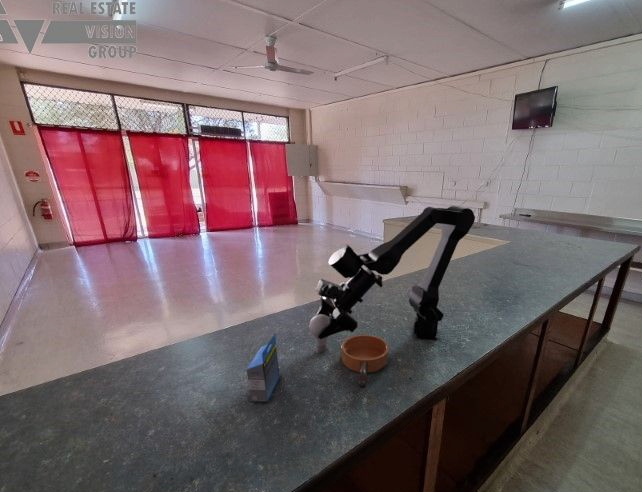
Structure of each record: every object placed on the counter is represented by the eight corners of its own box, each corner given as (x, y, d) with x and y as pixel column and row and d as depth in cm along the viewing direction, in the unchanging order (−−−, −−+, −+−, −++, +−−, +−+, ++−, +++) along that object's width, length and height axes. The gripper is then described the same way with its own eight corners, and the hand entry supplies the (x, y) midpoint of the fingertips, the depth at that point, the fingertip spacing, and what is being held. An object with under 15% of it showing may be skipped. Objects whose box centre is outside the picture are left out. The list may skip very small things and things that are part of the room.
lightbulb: (336, 348, 88) (336, 312, 85) (326, 359, 83) (326, 322, 79) (317, 343, 90) (315, 309, 86) (306, 355, 85) (304, 318, 81)
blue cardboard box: (264, 375, 76) (259, 330, 72) (280, 376, 76) (276, 331, 72) (250, 401, 68) (243, 352, 63) (268, 402, 68) (262, 353, 63)
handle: (367, 366, 77) (367, 359, 77) (366, 390, 69) (366, 383, 68) (360, 365, 77) (360, 359, 77) (357, 390, 69) (358, 383, 68)
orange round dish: (387, 348, 89) (388, 335, 88) (388, 374, 78) (389, 361, 76) (344, 346, 89) (344, 333, 88) (339, 372, 78) (339, 359, 77)
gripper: (326, 259, 88) (288, 300, 88) (344, 281, 71) (298, 331, 72) (353, 283, 93) (317, 321, 93) (376, 308, 77) (332, 355, 77)
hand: (316, 331), depth 84 cm, fingers open, 7 cm apart
